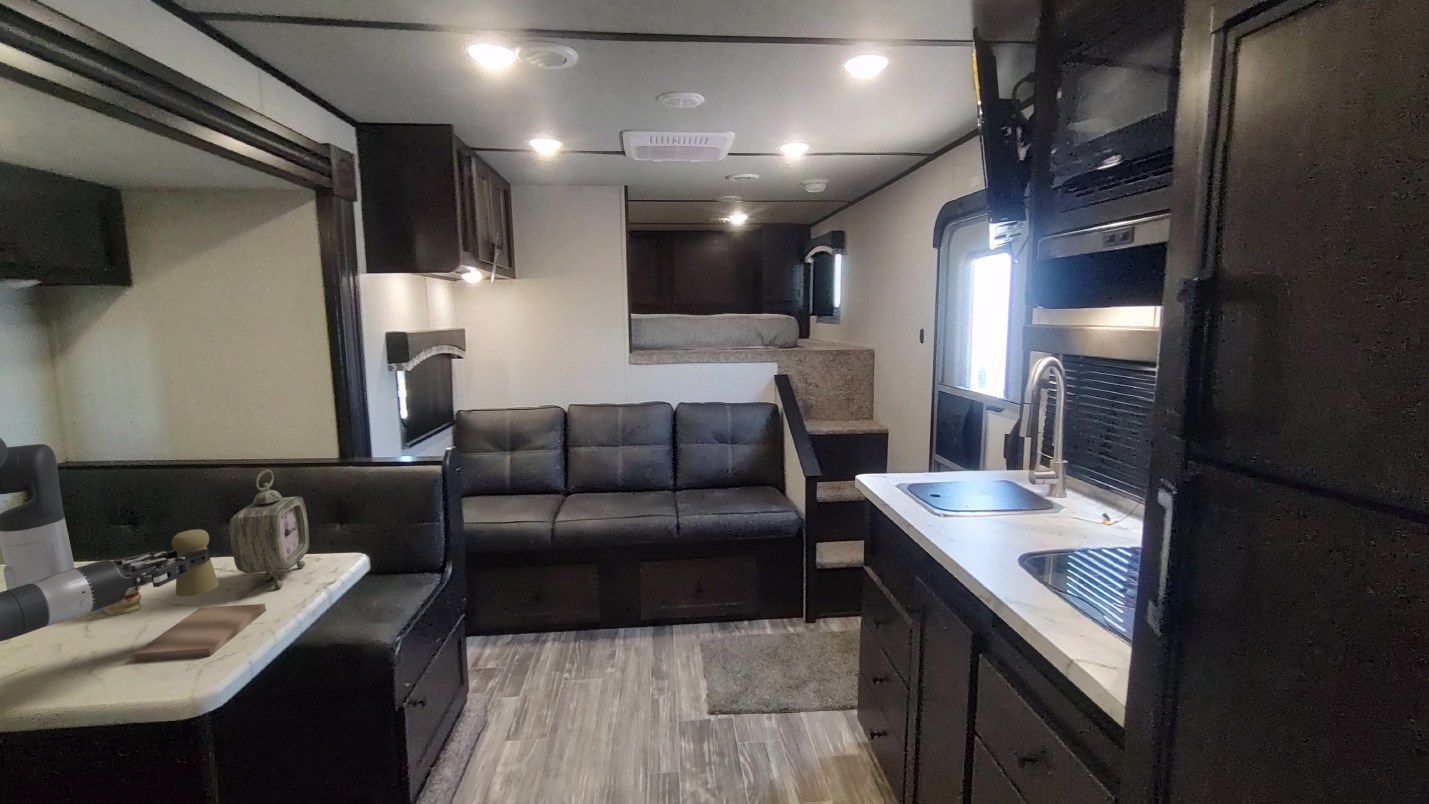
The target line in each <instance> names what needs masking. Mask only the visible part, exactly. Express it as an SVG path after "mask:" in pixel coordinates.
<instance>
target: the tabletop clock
mask: <svg viewBox="0 0 1429 804" xmlns="http://www.w3.org/2000/svg"><path fill="white" fill-rule="evenodd" d="M267 473H268V474H270V477H271V478H270V481H269V482H264V483H263V484H262V487H260V486H259V485H260V484H259V481H260V479H261V478H262V476H263V475H264V474H267ZM274 478H275V477H274V473H273V471H272V470H270V469H263V470H262V471H261V472H259V473H258V474H257V476H256V479H255V488H256V489H257V490H258V491H259V492H258V493H257V494H256V495H255V497H254V498H253V502H252V503H251V504H249V505H246V506H245V507H244V508H242V509H241V510H238V512H236V513H235V514H234V515H233V516H232V517H231V518H230V520H229V535H230V544H231V550H232V556H233V560H234V562H233V563H234V564H235V565H234V566H235V568H236V569H237V570H238V571H240V572H242V573H244V574H255V573H256V574H257V573H264V574H262V576H261V578H262V580H263V581H264V582H267V581H269V580H270V579H271V578H272V577H273V579H274V581H275V582H274V583H273V587H274V589H277V590H278V589H281V588H282V587H283V585H284V582H283V581H281V580H279V575H278V571H286V570H290V569H291V568H293V567H294V566H295V565H296V567H297V568H299V569H301V568H305V566H306V562H305V560H302V559H303V558H304V557H305V556H306V554H307V553H308V551H309V549H310V530H309V520H308V513H307V508H306V503H305V499H304V498H303V496H288V497H283V496H282V495H281V493H280V492H279V491H276V490H274V489H270V488H272V485H273V484H274V481H275V480H274Z"/></svg>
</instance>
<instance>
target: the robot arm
mask: <svg viewBox="0 0 1429 804" xmlns="http://www.w3.org/2000/svg"><path fill="white" fill-rule="evenodd" d="M31 491H33V497H32V498H31V499H30V500H28V501H26V502H24V503H23V504H20V505H17V506H14V507H11V508H9V509H7V510H5V511H2V512H1V513H0V547H1V552H2V556H3V557H2V558H3V560H4V561H3V562H4V568H3V570H2V571H3V576H4V582H5V586H6V590H3V591H0V642H3V641H8V640H11V639H13V638H14V639H15V638H17V637H20V636H24V635H25V634H26V635H27V634H29V633H31V632H33V631H34V632H35V631H38V630H40V629H43V628H46V627H50V626H52V625H56V624H61V623H64V622H65V623H66V622H67V621H71V620H74V619H76V618H79V617H82V616H84V615H87V614H91V613H94V612H97V611H99V610H103V608H105V607H108V606H111V605H114V604H117V603H119V602H121V601H122V600H123V599H124V597H125V594H126V592H127V590H128V589H129V588H133V587H135V588H138V587H140V588H142V587H146V586H148V585H149V584H152V586H153V588H159V587H162V586H164V585H166V584H168V583H170V582H172V581H176V579H177V578H179V577H181V576H183V575H185V574H187V573H189V569H188V568H189V567H192V566H195V565H197V564H200V563H203V562H206V561H209V560H210V559H211V554H210V550H209V548H207V549H202V550H199V551H196V552H193V553H190V554H187V555H184V556H179V557H177V552H176V551H175V550H174V549H173V550H170V551H160V552H157V551H149V552H146V553H141V554H137V555H133V556H129V557H123V558H120V559H115V560H111V559H102V560H98V561H95V562H92V563H87V564H84V565H81V566H78V567H75V562H74V558H73V552H72V549H71V548H72V547H71V543H70V538H69V533H68V528H67V523H66V518H65V512H64V507H63V499H62V498H63V497H62V493H61V488H60V478H59V468H58V462H57V458H56V454H55V452H54V450H53V449H52V448H51V446H49V445H47V444H44V443H38V444H37V443H36V444H26V445H18V446H16V445H15V446H8V445H7V444H6V442H5V441H4V440H3V439H2V438H1V437H0V495H8V494H17V493H24V492H31ZM177 567H178V568H177Z"/></svg>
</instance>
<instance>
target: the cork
mask: <svg viewBox="0 0 1429 804" xmlns="http://www.w3.org/2000/svg"><path fill="white" fill-rule="evenodd" d="M209 542H210V535H209V533H208V532H207V531H206V530H204V529H200V528H199V529H189V530H185V531H181V532H179V533H176V535H174V536H173V538H172V540H171V543H170V544H171V547H172V549H173V550H175V551H176V552H177V557H179V556H184V555H187V554H190V553H193V552H196V551H199V550H202V549H208V548H207V547H208V545H209ZM177 568H178V567H177ZM188 569H189V573H187V574H185V575H183V576H181V577H179V578H177V579H175V596H177V597H180V598H181V597H193V596H198V595H201V594H204V593H208V592H210V591H213V590H215V589H216V588H218V587H219V581H218V578H217V575H216V572H215V569H214V567H213V563H212V559H211V558H210V560H209V561H206V562H203V563H200V564H197V565H195V566H192V567H189V568H188Z"/></svg>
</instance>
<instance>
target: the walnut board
mask: <svg viewBox="0 0 1429 804" xmlns="http://www.w3.org/2000/svg"><path fill="white" fill-rule="evenodd" d="M266 611H267V609H266V603H254V604H252V603H251V604H242V605H241V604H240V605H239V604H238V605H237V604H236V605H223V606H208V607H199V608H197V609H196V610H195V611H193V612H192V613H190V614H188V615H187V616H186V617H185V618H182V619H181V620H179V621H178V622H177V623H176V624H175V625H173V626H172V627H169V629H167V630H166V631H165V632H162V633H161V634H159V636H157V637H156V638H154V639H152V640H151V641H150V642H148V643H147V644H146V645H144V646H142V647H141V648H140V649H138V650H136V651H135V652H134V653H133V658H134V662H144V661H143V660H149V661H157V660H156V659H163V660H174V659H173V658H177V659H189V657H190V658H203V657H204V658H205V657H211V656H213V654H215V653H216V652H218V650H220V649H221V648H223V646H225V645H226V644H227V643H229V642H230V641H231V640H232V639H233V638H234V637H236V636H237V635H238V634H239V633H241V632H242V631H243V630H244V629H246V626H247V625H248V626H249V625H251V624H252V623H253V622H254V621H256V620H257V619H258V618H259V617H260V616H262V615H263V614H264V613H265V612H266ZM257 617H258V618H257ZM252 621H253V622H252ZM251 622H252V623H251ZM248 626H247V627H248Z"/></svg>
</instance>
